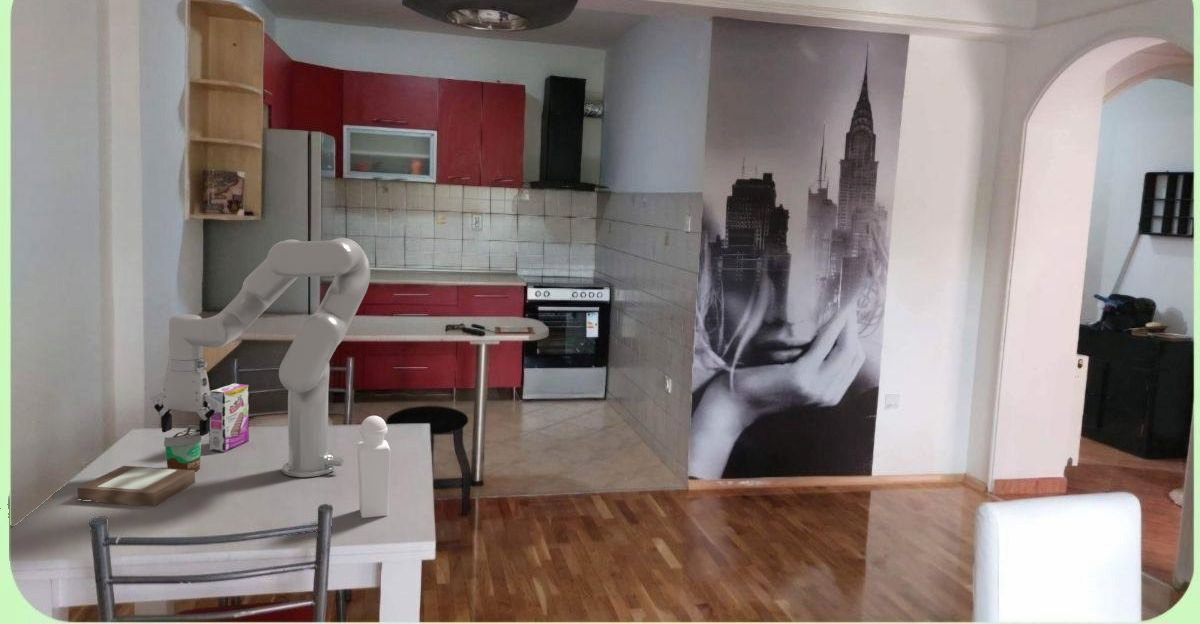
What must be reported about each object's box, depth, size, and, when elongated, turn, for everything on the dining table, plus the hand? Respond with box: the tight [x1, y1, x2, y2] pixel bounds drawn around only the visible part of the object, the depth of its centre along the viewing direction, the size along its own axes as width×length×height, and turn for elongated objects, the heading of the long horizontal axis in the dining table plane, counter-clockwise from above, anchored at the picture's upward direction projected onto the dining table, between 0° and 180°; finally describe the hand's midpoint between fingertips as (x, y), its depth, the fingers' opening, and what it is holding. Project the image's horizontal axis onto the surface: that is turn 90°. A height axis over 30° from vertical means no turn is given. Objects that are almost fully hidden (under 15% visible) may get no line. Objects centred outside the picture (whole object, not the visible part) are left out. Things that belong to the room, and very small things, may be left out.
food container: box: [163, 424, 205, 473], centre depth 212 cm, size 12×6×10 cm, turn 179°
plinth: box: [76, 465, 196, 507], centre depth 197 cm, size 18×16×3 cm
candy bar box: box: [208, 383, 250, 453], centre depth 233 cm, size 11×5×16 cm, turn 169°
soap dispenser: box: [356, 415, 391, 519], centre depth 188 cm, size 6×6×22 cm
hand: (185, 432), depth 212 cm, fingers open, 9 cm apart
